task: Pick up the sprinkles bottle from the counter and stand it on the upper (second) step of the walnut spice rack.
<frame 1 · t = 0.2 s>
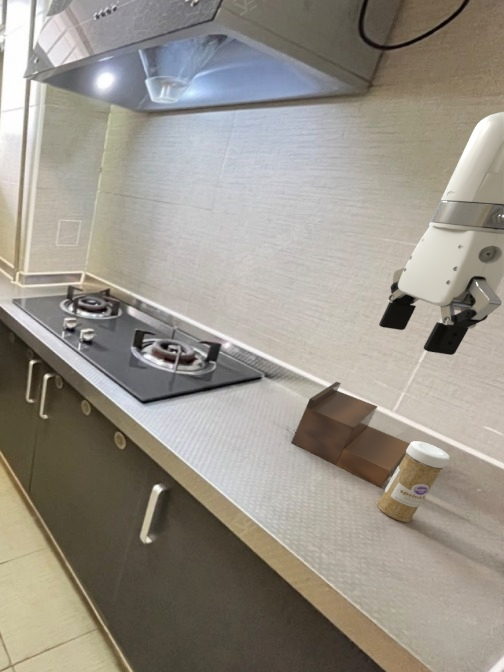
hand: (412, 339, 57), 31 cm above the worktop, tool pointing down, fingers open, 9 cm apart
sprinkles bottle: (392, 513, 67), on the worktop
spice rack: (345, 450, 83), on the worktop
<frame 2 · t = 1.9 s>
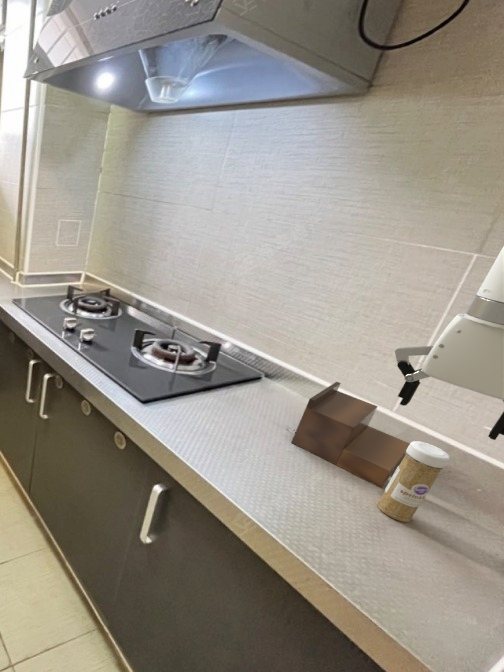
hand: (445, 418, 60), 19 cm above the worktop, tool pointing down, fingers open, 9 cm apart
nothing on the worktop moved.
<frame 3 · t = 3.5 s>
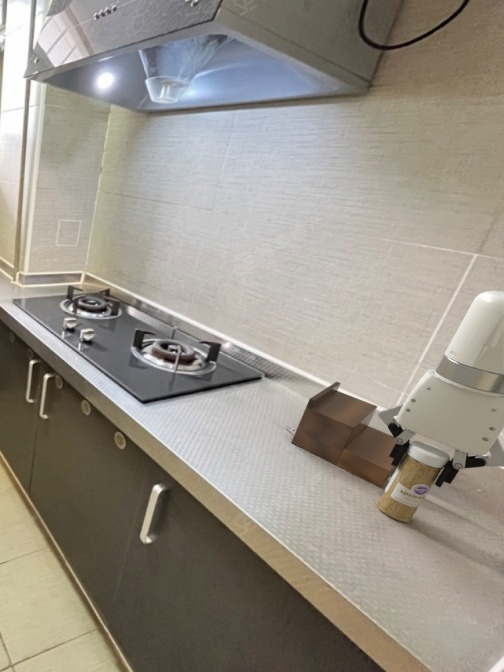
hand: (416, 472, 64), 9 cm above the worktop, tool pointing down, fingers closed on sprinkles bottle, 4 cm apart
sprinkles bottle: (392, 513, 67), on the worktop, touching gripper
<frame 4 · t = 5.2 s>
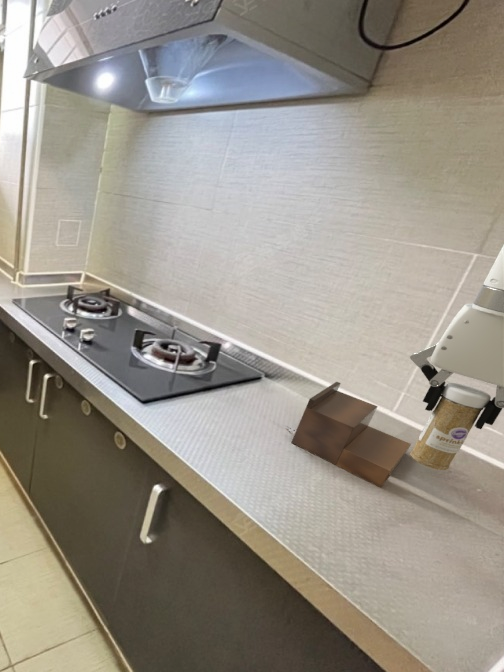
hand: (454, 415, 60), 20 cm above the worktop, tool pointing down, fingers closed on sprinkles bottle, 4 cm apart
sprinkles bottle: (427, 462, 63), point 11 cm above the worktop, touching gripper
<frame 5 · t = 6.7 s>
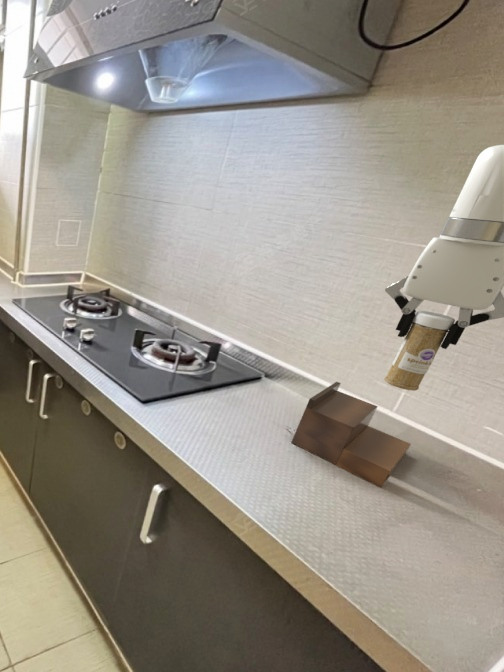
hand: (423, 340, 66), 28 cm above the worktop, tool pointing down, fingers closed on sprinkles bottle, 4 cm apart
sprinkles bottle: (399, 386, 70), point 19 cm above the worktop, touching gripper
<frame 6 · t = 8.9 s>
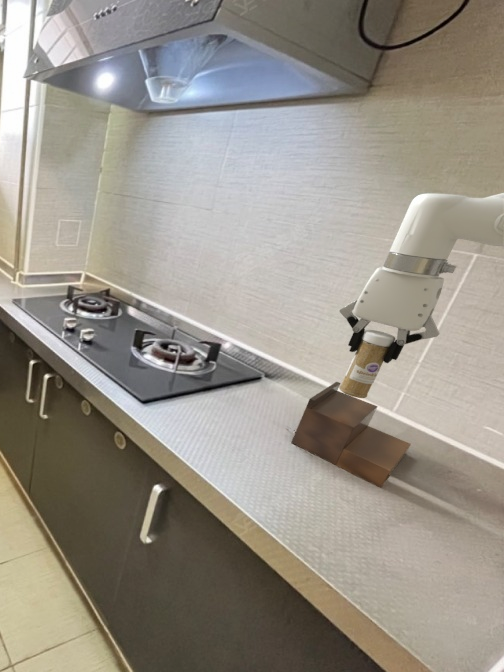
hand: (370, 355, 77), 21 cm above the worktop, tool pointing down, fingers closed on sprinkles bottle, 4 cm apart
sprinkles bottle: (351, 394, 80), point 12 cm above the worktop, touching gripper
when the fingers open (18 cm above the worktop, at t = 10.2 s): sprinkles bottle stays where it is, resting on spice rack.
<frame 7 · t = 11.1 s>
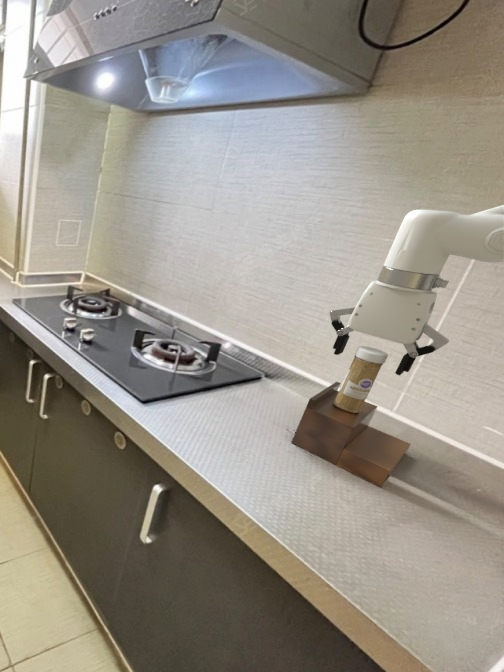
hand: (367, 362, 78), 20 cm above the worktop, tool pointing down, fingers open, 9 cm apart
sprinkles bottle: (345, 408, 82), point 9 cm above the worktop, touching spice rack
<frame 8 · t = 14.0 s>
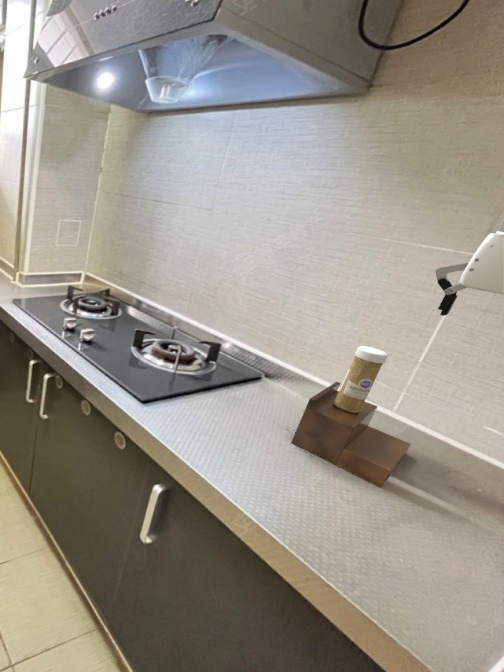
hand: (480, 322, 72), 30 cm above the worktop, tool pointing down, fingers open, 9 cm apart
nothing on the worktop moved.
at the end: sprinkles bottle inside the target area on the spice rack (0.9 cm from its centre), point 8.8 cm above the spice rack's base; sprinkles bottle tilted 0°; the gripper is holding nothing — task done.
